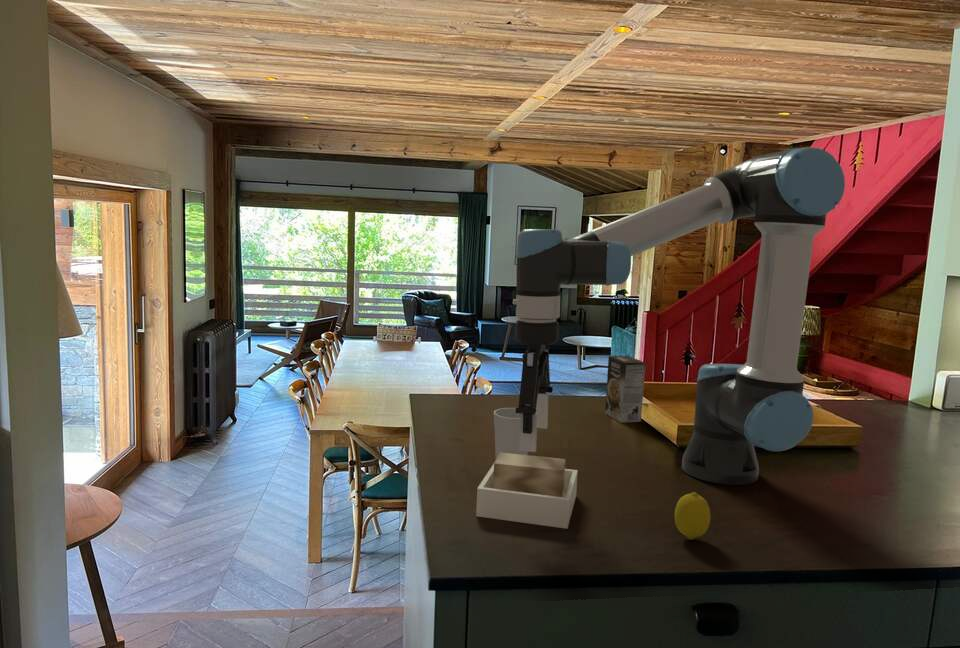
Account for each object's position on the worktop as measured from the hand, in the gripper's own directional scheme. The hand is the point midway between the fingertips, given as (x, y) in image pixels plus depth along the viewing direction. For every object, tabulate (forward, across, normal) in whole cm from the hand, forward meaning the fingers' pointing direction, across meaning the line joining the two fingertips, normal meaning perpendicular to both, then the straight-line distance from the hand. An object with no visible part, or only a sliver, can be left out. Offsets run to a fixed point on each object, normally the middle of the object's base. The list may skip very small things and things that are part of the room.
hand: (534, 438), depth 119 cm
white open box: (+12, 0, -1) cm, 12 cm away
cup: (+13, -17, -7) cm, 22 cm away
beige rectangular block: (+9, 0, -1) cm, 9 cm away
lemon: (+13, +5, +27) cm, 30 cm away
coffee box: (+14, -66, +14) cm, 68 cm away
